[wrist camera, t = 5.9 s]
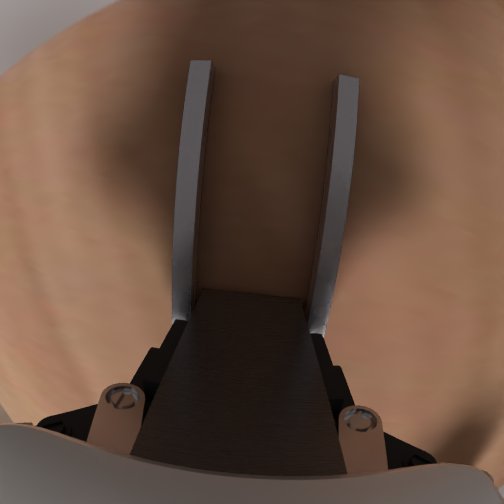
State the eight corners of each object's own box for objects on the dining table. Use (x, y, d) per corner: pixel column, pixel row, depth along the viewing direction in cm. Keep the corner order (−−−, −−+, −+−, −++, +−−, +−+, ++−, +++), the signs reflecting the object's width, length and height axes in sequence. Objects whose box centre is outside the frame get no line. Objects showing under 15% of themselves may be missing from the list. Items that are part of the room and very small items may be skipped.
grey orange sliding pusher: (334, 301, 13) (421, 478, 4) (282, 484, 16) (287, 595, 7) (168, 284, 13) (53, 445, 4) (179, 474, 16) (154, 582, 7)
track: (351, 85, 11) (359, 78, 10) (309, 369, 14) (312, 382, 13) (195, 68, 11) (190, 60, 10) (177, 356, 14) (173, 368, 13)
